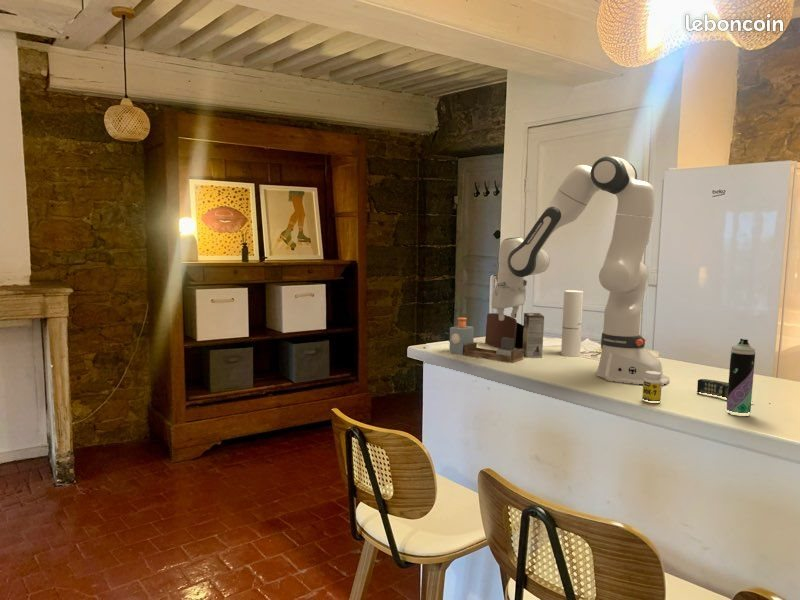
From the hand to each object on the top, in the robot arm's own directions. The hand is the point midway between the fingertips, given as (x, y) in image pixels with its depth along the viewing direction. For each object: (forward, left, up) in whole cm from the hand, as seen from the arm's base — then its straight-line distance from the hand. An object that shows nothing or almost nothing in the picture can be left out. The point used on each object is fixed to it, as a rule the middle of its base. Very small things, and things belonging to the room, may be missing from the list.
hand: (507, 319), depth 218 cm
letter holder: (+11, -24, -16) cm, 31 cm away
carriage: (0, 0, -14) cm, 14 cm away
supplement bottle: (-58, +24, -16) cm, 64 cm away
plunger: (+20, 0, -8) cm, 21 cm away
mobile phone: (-73, +7, -16) cm, 75 cm away
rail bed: (+6, 0, -15) cm, 16 cm away
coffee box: (-4, -14, -16) cm, 21 cm away
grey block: (+20, 0, -15) cm, 25 cm away
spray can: (-79, +21, -15) cm, 83 cm away
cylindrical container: (-15, -25, -15) cm, 33 cm away
